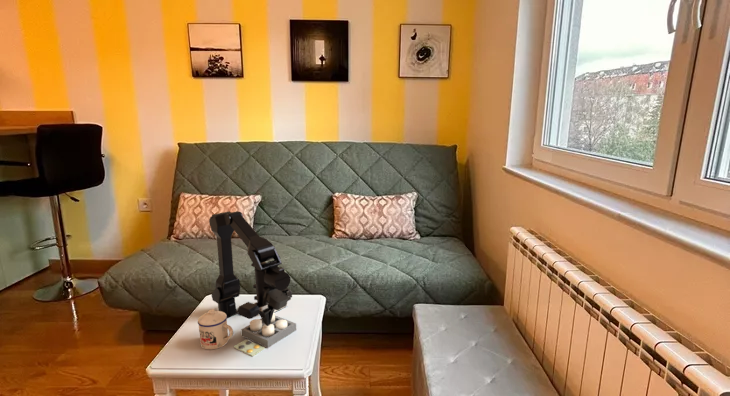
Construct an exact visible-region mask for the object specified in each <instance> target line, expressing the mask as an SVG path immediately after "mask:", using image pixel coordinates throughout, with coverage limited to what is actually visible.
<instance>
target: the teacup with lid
mask: <svg viewBox="0 0 730 396" xmlns="http://www.w3.org/2000/svg"><path fill="white" fill-rule="evenodd" d="M227 320H228V318H227V315H226V314H225V313H224V312H222V311H219V310H215V309H213V308H211V309H209V310H208V312H205V313H203V314H201V316H199V317H198V319H197V324H198V331H199V339H200V340H199V341H200V347H201V348H203V349H204V350H216V349H220V348H222V347H224V346H226V345H227V343H228V342H229V339H231V338H232V336H233V334H234V330H233V327H232V326H231V325H230V324H228V321H227Z"/></svg>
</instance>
